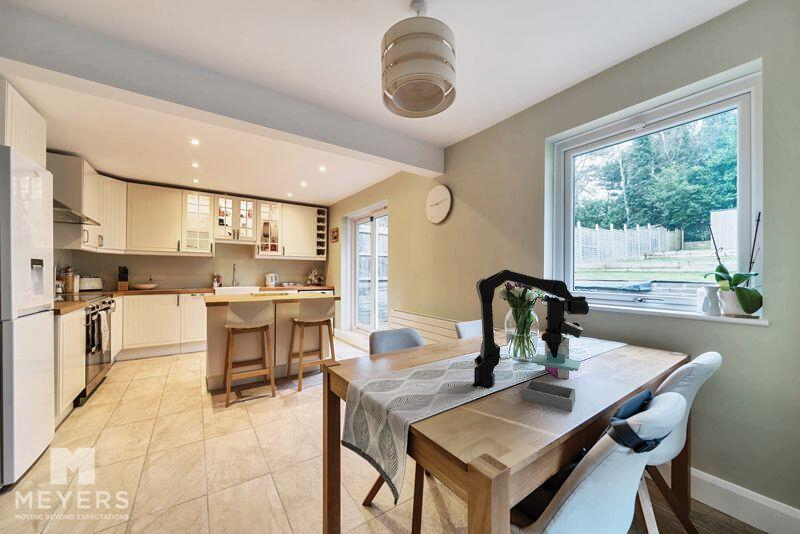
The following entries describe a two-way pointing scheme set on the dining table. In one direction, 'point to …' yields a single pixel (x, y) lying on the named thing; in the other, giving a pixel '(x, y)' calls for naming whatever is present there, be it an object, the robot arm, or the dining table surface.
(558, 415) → the dining table surface
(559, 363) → the teal lid
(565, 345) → the candy bar box
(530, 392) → the parts tub
